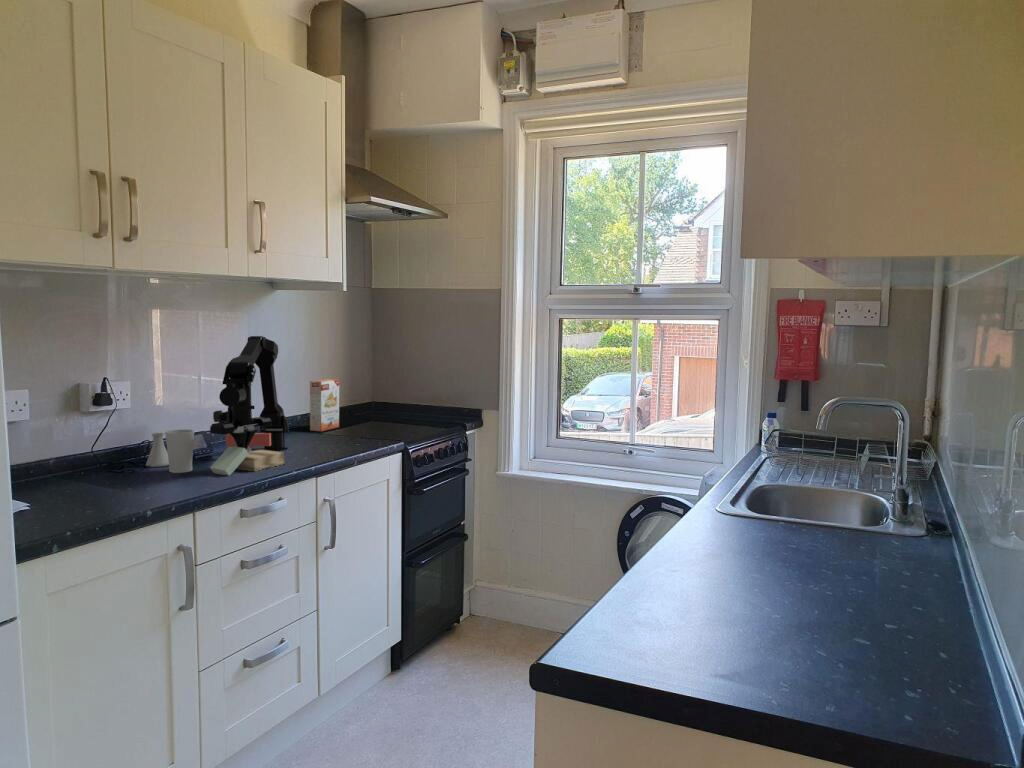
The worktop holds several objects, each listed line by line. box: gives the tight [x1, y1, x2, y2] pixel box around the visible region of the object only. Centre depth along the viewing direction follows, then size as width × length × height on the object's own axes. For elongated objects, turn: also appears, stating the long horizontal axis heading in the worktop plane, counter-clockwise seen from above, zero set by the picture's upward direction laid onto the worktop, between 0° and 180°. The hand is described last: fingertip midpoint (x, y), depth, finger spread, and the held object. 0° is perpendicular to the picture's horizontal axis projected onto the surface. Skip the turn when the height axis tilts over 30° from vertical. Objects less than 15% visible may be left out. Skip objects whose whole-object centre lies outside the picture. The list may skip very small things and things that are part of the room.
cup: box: [164, 428, 195, 474], centre depth 212 cm, size 8×8×12 cm
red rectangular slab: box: [225, 432, 271, 452], centre depth 232 cm, size 14×2×7 cm, turn 94°
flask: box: [145, 432, 169, 468], centre depth 220 cm, size 7×7×10 cm
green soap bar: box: [209, 446, 249, 477], centre depth 210 cm, size 9×6×2 cm
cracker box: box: [309, 378, 340, 433], centre depth 296 cm, size 14×6×21 cm, turn 162°
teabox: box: [235, 448, 285, 472], centre depth 220 cm, size 12×10×4 cm
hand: (242, 453), depth 214 cm, fingers closed
